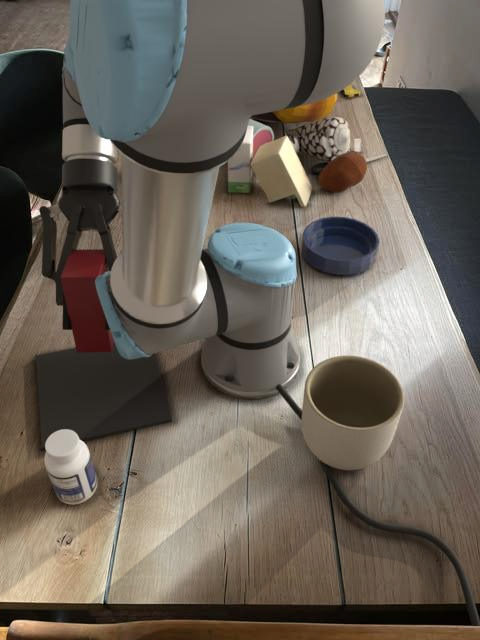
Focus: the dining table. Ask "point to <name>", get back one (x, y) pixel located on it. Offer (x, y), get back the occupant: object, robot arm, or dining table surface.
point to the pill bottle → (70, 467)
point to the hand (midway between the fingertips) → (89, 329)
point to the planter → (350, 411)
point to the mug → (260, 135)
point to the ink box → (241, 165)
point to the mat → (99, 393)
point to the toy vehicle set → (355, 145)
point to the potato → (343, 172)
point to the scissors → (328, 162)
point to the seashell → (322, 138)
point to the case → (86, 300)
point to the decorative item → (350, 91)
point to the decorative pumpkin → (307, 111)
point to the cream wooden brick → (281, 172)
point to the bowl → (339, 245)
